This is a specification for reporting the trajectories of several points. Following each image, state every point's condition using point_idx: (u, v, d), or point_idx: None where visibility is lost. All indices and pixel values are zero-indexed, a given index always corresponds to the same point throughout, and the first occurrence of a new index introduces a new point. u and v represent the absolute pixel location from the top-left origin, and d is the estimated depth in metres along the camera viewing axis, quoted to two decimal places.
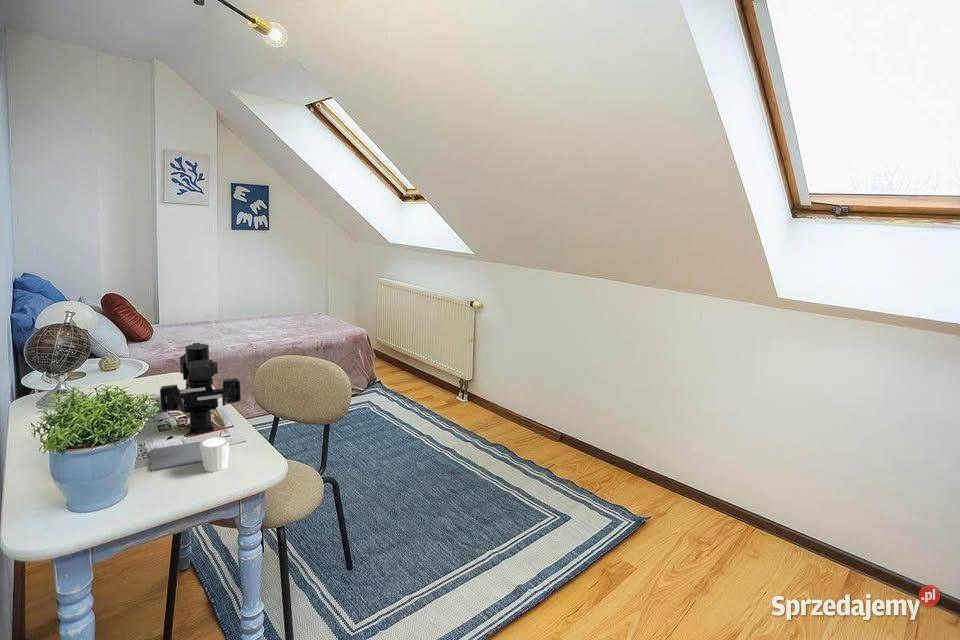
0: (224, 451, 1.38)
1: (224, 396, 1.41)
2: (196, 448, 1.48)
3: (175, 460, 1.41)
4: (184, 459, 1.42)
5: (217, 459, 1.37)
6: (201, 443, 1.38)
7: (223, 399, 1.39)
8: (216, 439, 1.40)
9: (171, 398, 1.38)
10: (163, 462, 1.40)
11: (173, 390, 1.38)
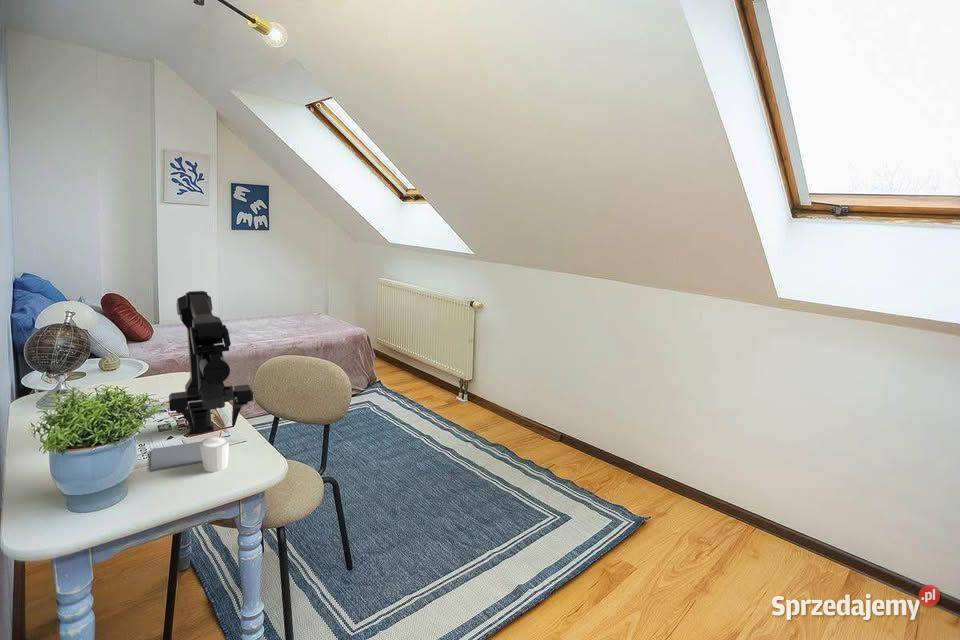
0: (224, 451, 1.38)
1: (235, 418, 1.39)
2: (196, 448, 1.48)
3: (175, 460, 1.41)
4: (184, 459, 1.42)
5: (217, 459, 1.37)
6: (201, 443, 1.38)
7: (233, 422, 1.40)
8: (216, 439, 1.40)
9: None
10: (163, 462, 1.40)
11: (184, 412, 1.31)
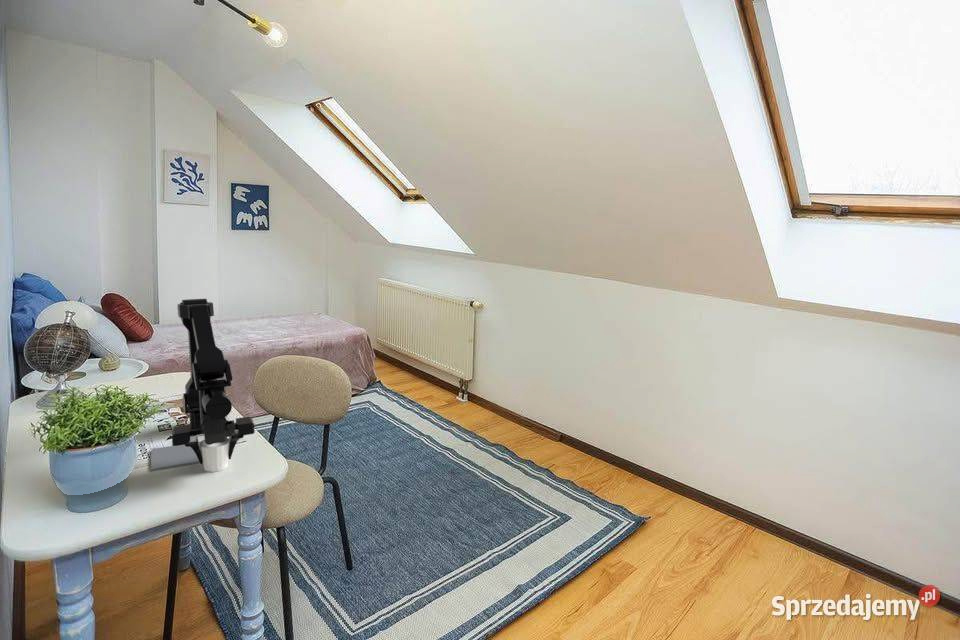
0: (224, 451, 1.38)
1: (231, 451, 1.41)
2: None
3: (175, 460, 1.41)
4: (184, 459, 1.42)
5: (217, 459, 1.37)
6: (201, 443, 1.38)
7: (229, 455, 1.41)
8: None
9: None
10: (163, 462, 1.40)
11: (192, 445, 1.34)
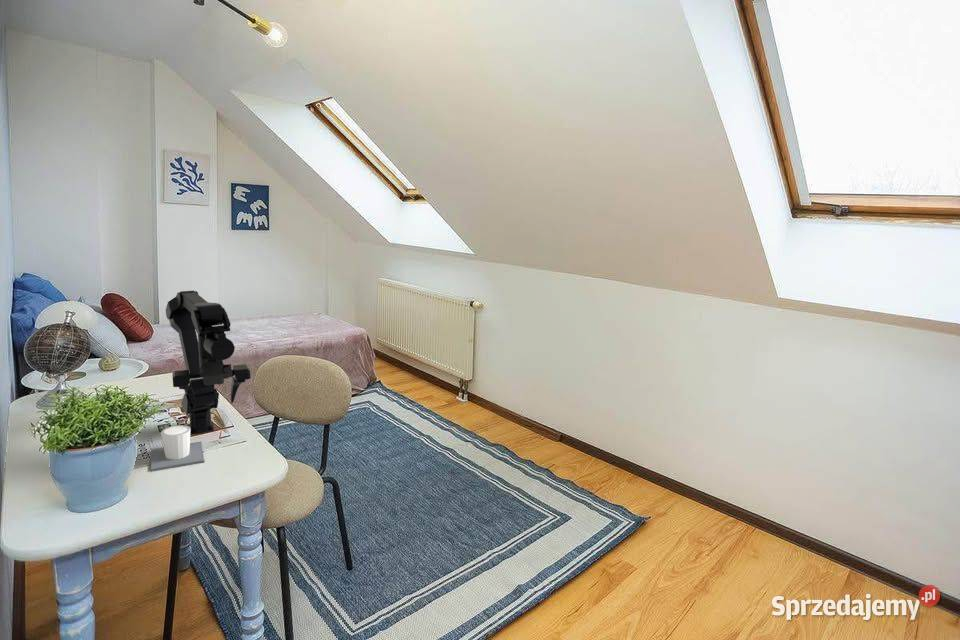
0: (185, 439, 1.42)
1: (233, 395, 1.50)
2: (196, 448, 1.48)
3: (175, 460, 1.41)
4: (184, 459, 1.42)
5: (178, 447, 1.41)
6: (162, 431, 1.41)
7: (232, 399, 1.51)
8: (178, 428, 1.44)
9: None
10: (163, 462, 1.40)
11: (186, 388, 1.42)
